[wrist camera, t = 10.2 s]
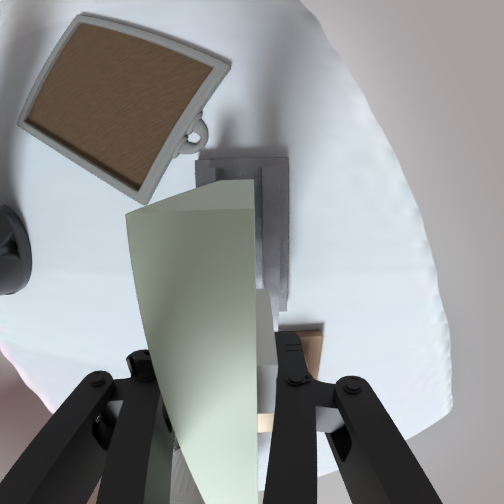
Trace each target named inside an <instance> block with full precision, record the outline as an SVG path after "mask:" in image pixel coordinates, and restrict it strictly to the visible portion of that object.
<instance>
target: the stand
mask: <svg viewBox="0 0 504 504" xmlns="http://www.w3.org/2000/svg"><path fill="white" fill-rule="evenodd" d="M195 178H196V188H198V187H201V186H204V185H207V184H211V183H214V182H217V181H220V180H249V179H254V205H255V262H256V289H269V291H270V299H271V308H272V316H273V325H274V331H278V327H279V311H287V286H288V239H289V160H288V158H229V159H208V160H195Z"/></svg>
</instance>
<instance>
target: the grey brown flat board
mask: <svg viewBox="0 0 504 504" xmlns="http://www.w3.org/2000/svg"><path fill="white" fill-rule="evenodd" d="M230 69H231V66H230V65H229V64H227V63H225V62H223V61H221V60H219V59H217V58H214V57H212V56H210V55H208V54H205V53H203V52H201V51H198V50H196V49H194V48H191V47H189V46H186V45H184V44H181V43H178V42H176V41H173V40H170V39H168V38H165V37H162V36H159V35H156V34H153V33H150V32H147V31H144V30H141V29H137V28H134V27H131V26H127V25H123V24H120V23H116V22H112V21H108V20H103V19H99V18H94V17H89V16H84V15H77V16H76V17H75V18H74V19H73V21H72V22H71V24H70V25H69V26H68V28H67V29H66V31H65V32H64V34H63V35H62V37H61V38H60V40H59V41H58V43H57V44H56V46H55V48H54V49H53V51H52V52H51V54H50V56H49V57H48V59H47V61H46V63H45V64H44V66H43V68H42V70H41V72H40V74H39V75H38V77H37V79H36V81H35V83H34V85H33V87H32V89H31V91H30V94H29V96H28V98H27V100H26V102H25V105H24V107H23V109H22V112H21V114H20V116H19V119H18V121H17V125H18V126H19V127H20V128H22V129H23V130H25V131H27V132H28V133H30V134H31V135H33V136H34V137H36V138H37V139H39V140H40V141H42V142H43V143H45V144H46V145H48V146H50V147H51V148H53V149H54V150H56V151H57V152H59V153H60V154H62V155H64V156H65V157H67V158H68V159H70V160H71V161H73V162H75V163H76V164H78V165H79V166H81V167H82V168H84V169H86V170H87V171H89V172H90V173H92V174H93V175H95V176H97V177H98V178H100V179H101V180H103V181H105V182H106V183H108V184H109V185H111V186H113V187H114V188H116V189H117V190H119V191H121V192H122V193H124V194H125V195H127V196H129V197H130V198H132V199H134V200H135V201H137V202H138V203H140V204H142V205H147V204H148V203H149V201H150V199H151V197H152V195H153V193H154V191H155V189H156V187H157V186H158V184H159V182H160V180H161V178H162V176H163V174H164V173H165V171H166V169H167V167H168V165H169V164H170V162H171V160H172V158H176V157H177V156H178V155H179V153H180V154H193V153H196V152H198V151H200V150H201V149H203V148H204V146H205V145H206V143H207V140H208V131H207V128H206V126H205V124H204V123H203V122H202V121H201V120H200V119H201V117H202V113H201V111H202V109H203V108H204V106H205V105H206V103H207V102H208V100H209V99H210V98H211V96H212V95H213V93H214V92H215V90H216V89H217V87H218V86H219V85H220V83H221V82H222V80H223V79H224V78H225V76H226V75H227V73H228V72H229V71H230ZM193 131H194V132H196V133H197V134H199V135H200V137H201V139H200V141H199V143H198V144H196V145H193V144H190V143H188V142H187V136H186V135H190V134H191V133H192V132H193Z"/></svg>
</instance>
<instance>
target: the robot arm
mask: <svg viewBox="0 0 504 504" xmlns="http://www.w3.org/2000/svg"><path fill="white" fill-rule="evenodd" d="M31 266H32V261H31V251H30V245H29V241H28V238H27V235H26V232H25V229H24V227H23V225H22V223H21V221H20V219H19V218H18V216H17V215H16V214H15V213H14V212H13V211H12V210H11V209H10V208H8V207H6V206H3V205H0V295H11V294H14V293H16V292H18V291H19V290H21V289H22V288H24V287H25V286H26V285H27V283H28V281H29V278H30V275H31ZM256 345H257V414H272V413H274V420H273V429H272V438H271V446H270V454H269V462H268V469H267V477H266V484H265V491H264V498H263V504H317V434H316V431H320V432H325V435H326V437H327V440H328V442H329V445H330V448H331V450H332V453H333V455H334V458H335V460H336V463H337V466H338V468H339V471H340V473H341V476H342V478H343V481H344V483H345V486H346V489H347V491H348V494H349V496H350V499H351V501H352V504H443V503H442V502H441V500H440V498H439V496H438V495H437V493H436V491H435V490H434V488H433V486H432V484H431V483H430V481H429V479H428V478H427V476H426V474H425V473H424V471H423V469H422V468H421V466H420V464H419V463H418V461H417V459H416V458H415V456H414V454H413V453H412V451H411V449H410V448H409V446H408V445H407V443H406V441H405V440H404V438H403V437H402V435H401V433H400V432H399V430H398V428H397V427H396V425H395V424H394V422H393V420H392V419H391V417H390V416H389V414H388V413H387V411H386V409H385V408H384V406H383V405H382V403H381V402H380V400H379V398H378V397H377V395H376V394H375V392H374V391H373V389H372V388H371V386H370V384H369V383H368V382H367V381H366V380H365V379H363V378H361V377H358V376H345V377H342V378H340V379H339V380H338V381H337V382H336V384H331V383H324V382H320V381H318V380H316V379H314V378H313V376H312V375H311V374H310V373H309V372H308V368H307V364H306V360H305V356H304V352H303V348H302V345H301V340H300V337H299V336H298V335H297V334H296V333H295V332H294V331H283V332H274V325H273V316H272V308H271V299H270V291H269V289H256ZM126 361H127V364H128V367H129V370H130V373H131V378H126V379H115V380H113V378H112V376H111V374H110V373H108V372H106V371H94V372H92V373H90V374H88V375H87V376H86V377H85V378H84V379H83V380H82V381H81V382H80V384H79V385H78V386H77V387H76V388H75V389H74V391H73V392H72V393H71V394H70V395H69V396H68V398H67V399H66V400H65V401H64V402H63V404H62V405H61V406H60V407H59V408H58V410H57V411H56V412H55V413H54V414H53V416H52V417H51V418H50V419H49V421H48V422H47V423H46V424H45V426H44V427H43V428H42V429H41V430H40V432H39V433H38V434H37V435H36V437H35V438H34V439H33V440H32V442H31V443H30V444H29V446H28V447H27V448H26V449H25V451H24V452H23V453H22V455H21V456H20V457H19V459H18V460H17V461H16V463H15V464H14V465H13V466H12V468H11V469H10V471H9V472H8V473H7V475H6V476H5V477H4V479H3V480H2V481H1V483H0V504H86V503H87V502H88V500H89V498H90V496H91V494H92V493H93V491H94V489H95V487H96V485H97V484H98V482H99V480H100V478H101V476H102V478H101V483H100V488H99V492H98V496H97V501H96V504H170V489H171V472H172V458H173V446H174V435H175V432H174V430H173V427H172V424H171V421H170V418H169V416H168V413H167V410H166V407H165V404H164V401H163V398H162V394H161V391H160V388H159V385H158V381H157V378H156V374H155V371H154V367H153V364H152V360H151V356H150V352H149V350H146V349H145V350H138V351H135V352H133V353H131V354H130V355H128V357H127V358H126ZM98 416H99V417H98ZM97 418H98V419H97Z"/></svg>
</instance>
